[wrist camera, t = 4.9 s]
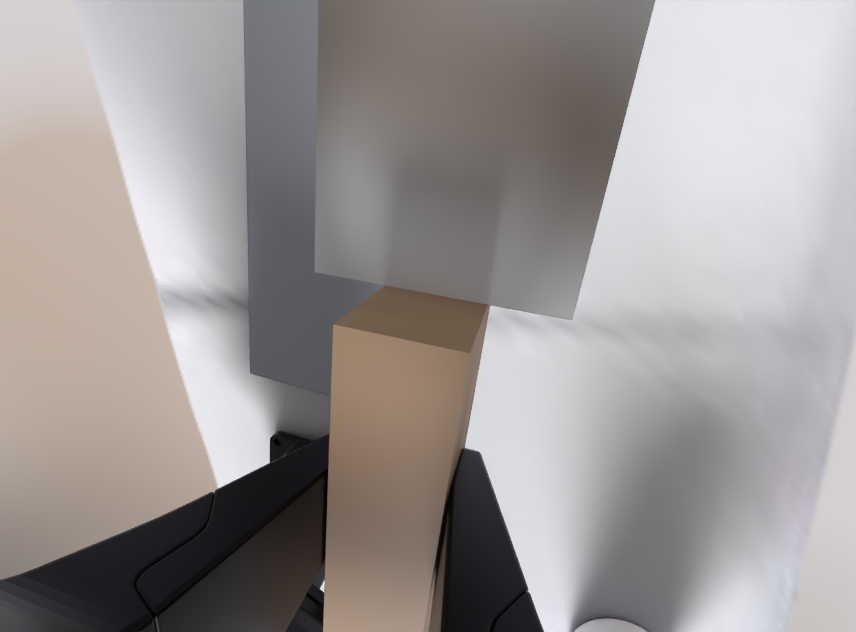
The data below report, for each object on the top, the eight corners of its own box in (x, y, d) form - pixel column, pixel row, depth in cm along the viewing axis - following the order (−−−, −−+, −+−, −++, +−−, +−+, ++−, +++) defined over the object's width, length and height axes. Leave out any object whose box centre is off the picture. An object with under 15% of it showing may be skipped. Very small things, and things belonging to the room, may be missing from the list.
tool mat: (387, 404, 22) (383, 410, 22) (257, 368, 24) (250, 373, 23) (455, -131, 14) (451, -143, 14) (251, -136, 16) (240, -147, 15)
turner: (497, 589, 11) (483, 731, 8) (324, 534, 12) (259, 644, 9) (668, -89, 6) (786, -322, 3) (343, -89, 7) (211, -269, 4)
